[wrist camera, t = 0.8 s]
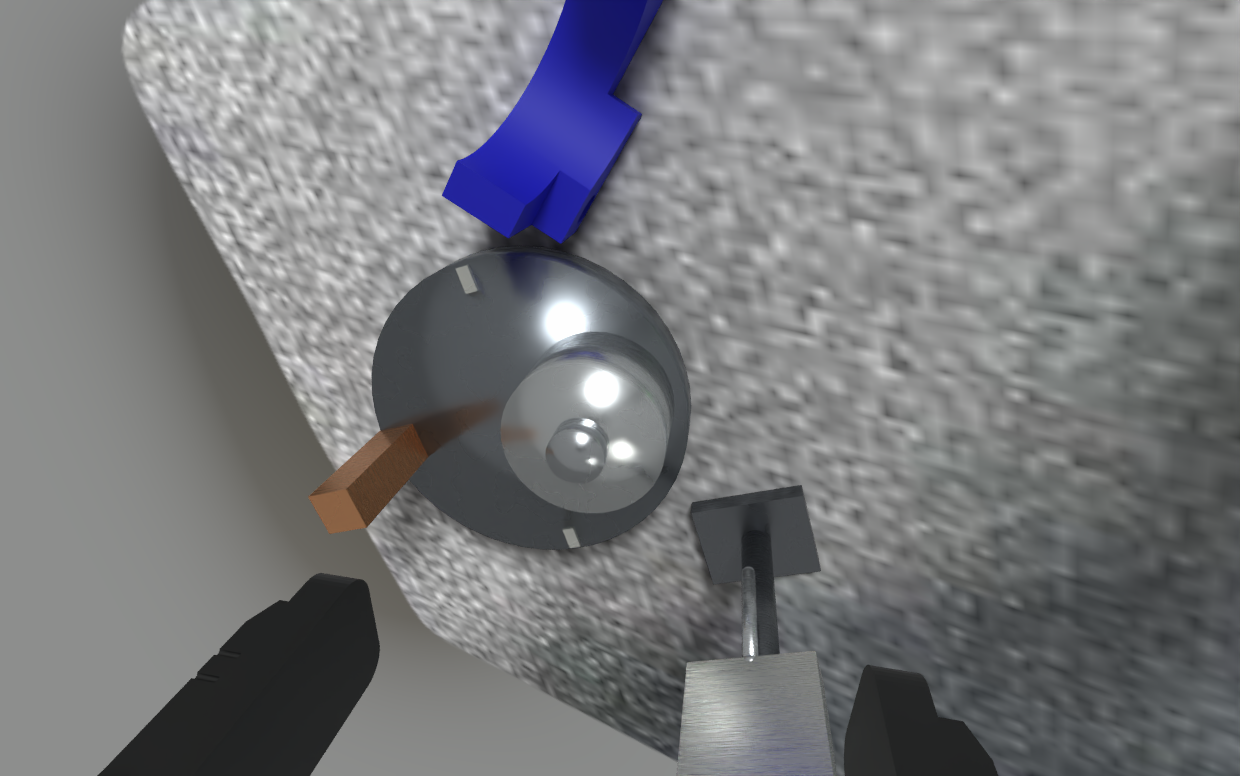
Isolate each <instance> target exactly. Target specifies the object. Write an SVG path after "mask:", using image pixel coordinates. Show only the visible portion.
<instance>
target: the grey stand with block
mask: <svg viewBox="0 0 1240 776" xmlns="http://www.w3.org/2000/svg"><path fill="white" fill-rule="evenodd" d="M691 514H692V518H693V521H694V524H695V527H696V530H697V533H698V537H699V540H700V543H701V546H702V549H703V553H704V556H705V559H706V562H707V565H708V568H709V572H710V575H711V578H712V581H713V584H720V583H728V582H736V581H742V657H740V658H729V659H717V660H706V661H694V662H687V667H686V678H685V689H684V700H683V711H682V722H681V733H680V744H679V756H678V767H677V776H837V772H836V765H835V758H834V751H833V745H832V738H831V731H830V724H829V717H828V711H827V704H826V697H825V690H824V684H823V679H822V675H821V671H820V667H819V663H818V659H817V655H816V651H809V652H797V653H786V654H780V651H779V638H778V625H777V612H776V599H775V586H774V577H777V576H786V575H794V574H802V573H810V572H819V571H821V568H820V563H819V558H818V553H817V549H816V545H815V541H814V536H813V532H812V528H811V523H810V519H809V515H808V511H807V506H806V502H805V498H804V493H803V489H802V485H799V486H793V487H787V488H780V489H774V490H768V491H762V492H755V493H749V494H743V495H737V496H730V497H724V498H718V499H712V500H705V501H699V502H693V503H692V510H691Z"/></svg>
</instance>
